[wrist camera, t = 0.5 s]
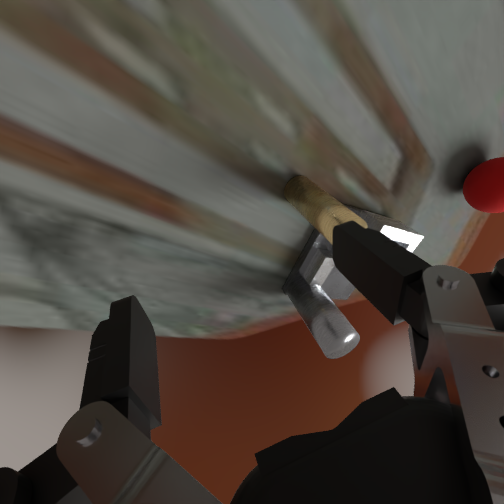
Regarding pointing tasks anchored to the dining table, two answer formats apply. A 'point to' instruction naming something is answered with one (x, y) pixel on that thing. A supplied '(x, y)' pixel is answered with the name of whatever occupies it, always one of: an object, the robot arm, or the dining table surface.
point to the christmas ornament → (486, 186)
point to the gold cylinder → (318, 206)
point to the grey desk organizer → (334, 284)
